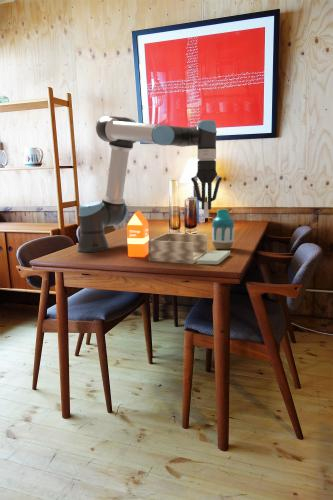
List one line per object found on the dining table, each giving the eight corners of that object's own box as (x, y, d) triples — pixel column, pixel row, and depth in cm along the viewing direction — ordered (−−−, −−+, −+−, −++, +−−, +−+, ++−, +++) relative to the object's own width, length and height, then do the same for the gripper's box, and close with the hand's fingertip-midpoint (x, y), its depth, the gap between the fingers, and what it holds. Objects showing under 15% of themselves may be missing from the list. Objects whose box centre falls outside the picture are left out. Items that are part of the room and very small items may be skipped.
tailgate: (196, 260, 158) (217, 260, 154) (210, 250, 175) (230, 250, 171) (196, 263, 158) (218, 264, 154) (210, 253, 175) (230, 254, 171)
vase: (208, 248, 188) (207, 209, 184) (227, 246, 192) (227, 208, 188) (218, 252, 179) (218, 211, 175) (238, 250, 182) (238, 210, 178)
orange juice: (127, 256, 176) (125, 212, 172) (134, 252, 184) (132, 210, 180) (144, 257, 174) (142, 213, 170) (149, 252, 182) (148, 210, 178)
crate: (148, 261, 166) (148, 240, 164) (167, 251, 184) (166, 232, 182) (192, 264, 158) (192, 243, 156) (207, 254, 176) (207, 234, 174)
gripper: (189, 160, 155) (189, 218, 161) (221, 159, 152) (220, 218, 157) (192, 160, 162) (192, 215, 168) (223, 159, 159) (222, 216, 164)
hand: (206, 217), depth 162 cm, fingers closed
